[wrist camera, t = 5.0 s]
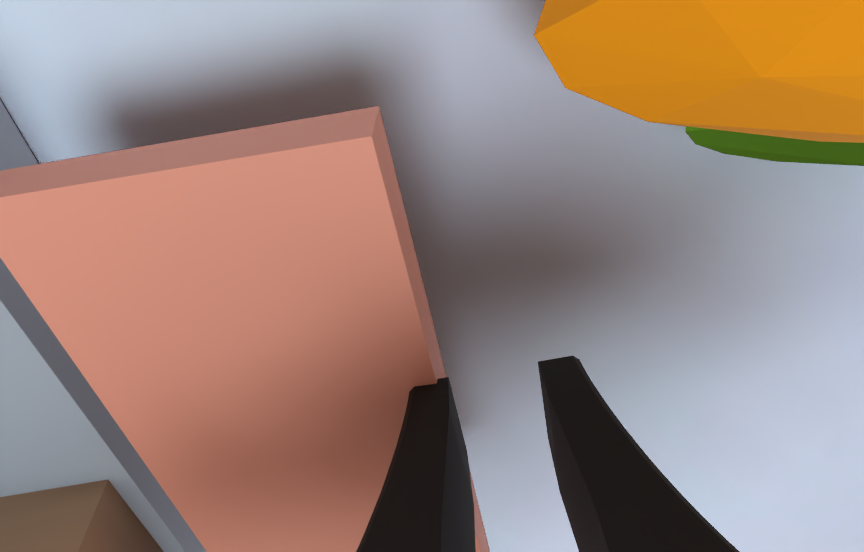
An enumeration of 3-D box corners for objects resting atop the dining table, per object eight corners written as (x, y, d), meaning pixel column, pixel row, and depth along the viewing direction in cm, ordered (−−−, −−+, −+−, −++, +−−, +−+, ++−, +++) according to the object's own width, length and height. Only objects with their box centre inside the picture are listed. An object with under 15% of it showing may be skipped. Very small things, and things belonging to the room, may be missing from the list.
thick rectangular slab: (257, 559, 17) (488, 541, 16) (244, 605, 16) (490, 589, 15) (8, 164, 10) (380, 100, 10) (-38, 203, 9) (371, 136, 9)
